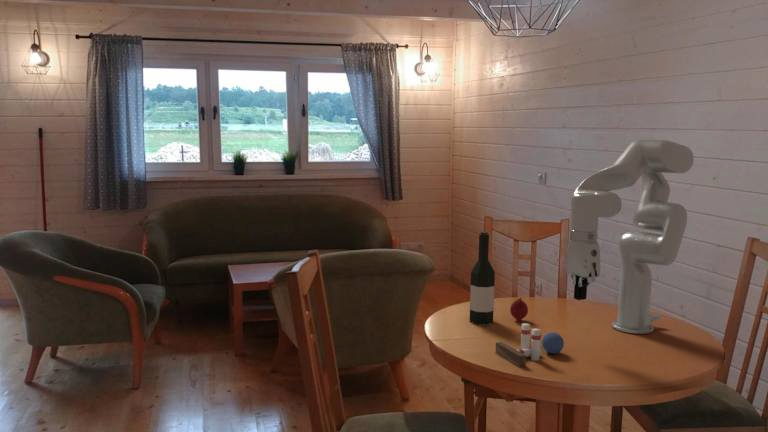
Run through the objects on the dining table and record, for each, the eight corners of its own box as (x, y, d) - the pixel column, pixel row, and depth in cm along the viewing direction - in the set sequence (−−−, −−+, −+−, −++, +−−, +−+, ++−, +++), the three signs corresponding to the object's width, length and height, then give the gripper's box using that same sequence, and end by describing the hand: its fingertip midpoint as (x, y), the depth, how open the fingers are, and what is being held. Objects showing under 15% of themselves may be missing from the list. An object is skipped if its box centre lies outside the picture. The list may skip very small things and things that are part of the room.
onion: (527, 323, 213) (528, 300, 212) (509, 322, 214) (510, 299, 213) (527, 318, 219) (528, 295, 218) (510, 317, 220) (510, 294, 219)
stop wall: (501, 351, 186) (501, 341, 186) (525, 366, 175) (526, 355, 175) (495, 352, 186) (495, 342, 185) (519, 367, 175) (519, 356, 174)
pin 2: (536, 357, 182) (537, 328, 181) (541, 360, 180) (542, 330, 179) (528, 358, 181) (529, 329, 180) (533, 361, 179) (535, 331, 178)
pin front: (537, 345, 185) (512, 348, 181) (542, 348, 183) (517, 352, 179) (536, 353, 185) (511, 357, 182) (541, 356, 183) (516, 360, 180)
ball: (534, 337, 186) (542, 353, 188) (547, 344, 181) (555, 360, 183) (550, 325, 188) (557, 341, 190) (563, 332, 182) (571, 348, 184)
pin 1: (525, 351, 187) (527, 322, 186) (530, 354, 185) (532, 325, 183) (518, 352, 186) (519, 323, 185) (523, 355, 184) (524, 326, 182)
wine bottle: (474, 325, 211) (477, 234, 207) (465, 318, 219) (467, 230, 215) (498, 323, 213) (501, 233, 209) (488, 316, 221) (491, 229, 217)
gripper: (612, 240, 179) (608, 304, 182) (577, 231, 193) (573, 291, 195) (590, 241, 176) (586, 307, 179) (556, 233, 190) (553, 294, 192)
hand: (580, 298), depth 187 cm, fingers closed
